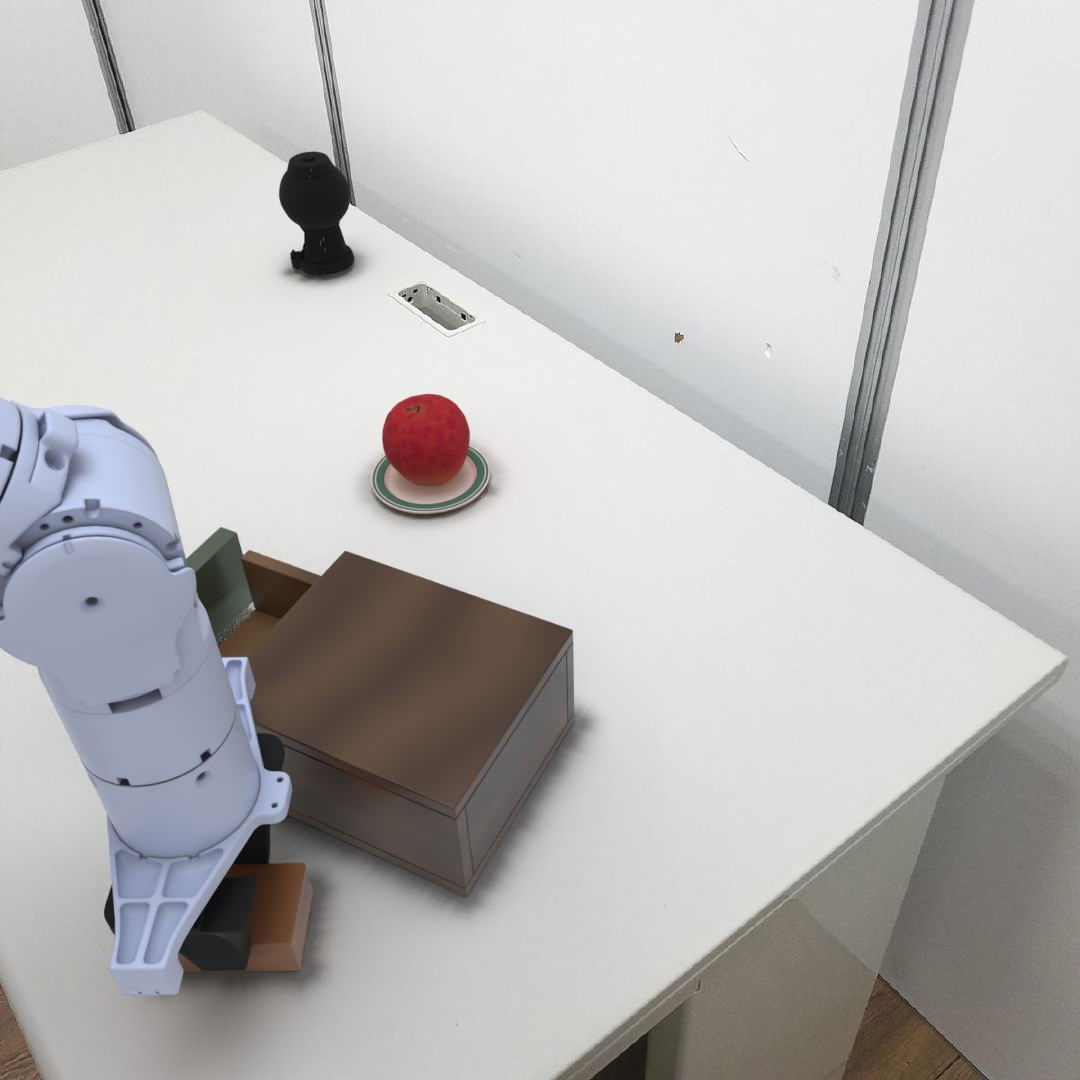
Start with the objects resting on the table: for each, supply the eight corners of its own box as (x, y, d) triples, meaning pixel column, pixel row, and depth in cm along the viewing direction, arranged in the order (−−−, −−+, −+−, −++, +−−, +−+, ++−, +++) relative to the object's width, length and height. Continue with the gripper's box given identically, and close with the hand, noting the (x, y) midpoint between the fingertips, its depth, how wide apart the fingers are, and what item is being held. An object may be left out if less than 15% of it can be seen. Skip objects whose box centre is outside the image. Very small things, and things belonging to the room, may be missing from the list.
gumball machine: (289, 253, 100) (267, 144, 93) (354, 243, 101) (338, 135, 94) (297, 289, 95) (275, 176, 88) (365, 278, 96) (349, 166, 90)
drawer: (55, 688, 61) (22, 621, 57) (181, 570, 68) (159, 504, 64) (307, 803, 55) (288, 735, 51) (418, 661, 62) (408, 592, 58)
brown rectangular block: (166, 973, 49) (152, 946, 48) (187, 891, 52) (174, 863, 51) (300, 971, 49) (290, 944, 48) (314, 890, 52) (305, 862, 51)
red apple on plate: (364, 520, 72) (350, 439, 68) (379, 445, 78) (366, 367, 74) (487, 518, 72) (481, 436, 68) (492, 443, 78) (487, 364, 74)
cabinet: (235, 791, 57) (202, 700, 52) (362, 640, 64) (344, 549, 59) (466, 898, 52) (454, 809, 47) (574, 721, 59) (573, 629, 55)
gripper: (223, 900, 35) (297, 1080, 44) (298, 583, 46) (345, 779, 55) (3, 903, 35) (122, 1082, 45) (129, 586, 46) (204, 782, 55)
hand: (235, 915), depth 50 cm, fingers closed on brown rectangular block, 4 cm apart
